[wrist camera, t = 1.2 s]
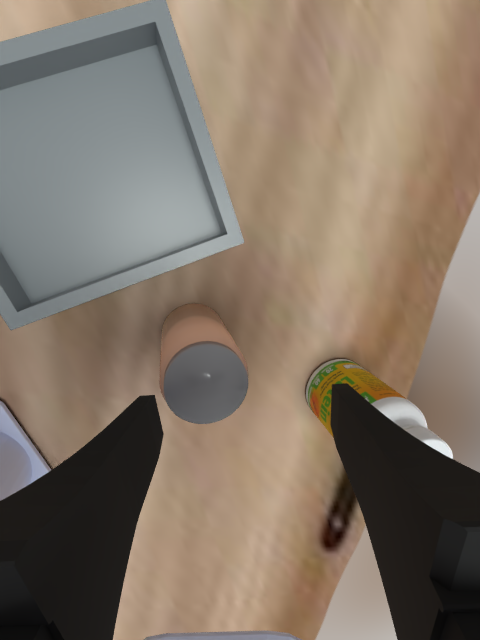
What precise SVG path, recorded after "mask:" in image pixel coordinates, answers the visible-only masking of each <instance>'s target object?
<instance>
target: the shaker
mask: <svg viewBox="0 0 480 640" xmlns="http://www.w3.org/2000/svg"><path fill="white" fill-rule="evenodd" d="M159 382H160V389H161V393H162V395H163V397H164V399H165V401H166V402H167V404H168V406H169V408H170V409H171V410H172V411H173V412H174V413H175V414H176V415H177V416H178V417H180V418H181V419H183V420H185V421H188V422H191V423H197V424H208V423H213V422H217V421H220V420H222V419H224V418H226V417H228V416H229V415H231V414H232V413H233V412H234V411H235V410H236V409H237V408H238V407H239V406H240V405H241V403H242V402H243V400H244V398H245V396H246V393H247V389H248V367H247V364H246V361H245V359H244V357H243V355H242V353H241V352H240V350H239V348H238V347H237V345H236V343H235V342H234V340H233V338H232V337H231V335H230V333H229V332H228V330H227V328H226V327H225V325H224V323H223V322H222V320H221V318H220V317H219V315H218V314H217V313H216V312H215V311H214V310H212V309H211V308H209V307H207V306H205V305H202V304H186V305H183V306H180V307H178V308H176V309H175V310H173V311H172V312H171V313H170V314H169V315H168V317H167V318H166V320H165V322H164V324H163V327H162V337H161V359H160V381H159Z"/></svg>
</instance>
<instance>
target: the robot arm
mask: <svg viewBox="0 0 480 640" xmlns="http://www.w3.org/2000/svg"><path fill="white" fill-rule="evenodd" d="M330 425H331V429H332V433H333V437H334V441H335V444H336V448H337V450H338V453H339V455H340V458H341V460H342V463H343V465H344V468H345V470H346V473H347V475H348V478H349V480H350V483H351V485H352V488H353V490H354V492H355V495H356V497H357V500H358V502H359V505H360V508H361V511H362V513H363V516H364V520H365V523H366V526H367V529H368V533H369V536H370V540H371V543H372V547H373V550H374V554H375V557H376V560H377V564H378V568H379V571H380V575H381V578H382V582H383V586H384V589H385V593H386V597H387V601H388V604H389V608H390V612H391V616H392V620H393V624H394V627H395V632H396V636H397V639H398V640H480V473H479V472H477V471H475V470H473V469H471V468H469V467H467V466H465V465H462V464H461V463H458V462H457V461H455V460H453V459H451V458H449V457H448V456H446V455H444V454H442V453H440V452H439V451H437V450H435V449H433V448H432V447H430V446H428V445H427V444H425V443H424V442H422V441H420V440H419V439H417V438H416V437H414V436H413V435H411V434H410V433H408V432H407V431H405V430H404V429H403V428H401V427H400V426H398V425H397V424H396V423H394V422H393V421H392V420H390V419H389V418H388V417H386V416H385V415H384V414H383V413H381V412H380V411H379V410H378V409H377V408H375V407H374V406H373V405H372V404H371V403H369V402H368V401H367V400H366V399H365V398H364V397H362V396H361V395H360V394H359V393H358V392H357V391H356V390H355V389H353V388H352V387H351V386H350V385H349V384H348V383H343V384H332V394H331V420H330ZM162 439H163V430H162V425H161V421H160V416H159V412H158V408H157V403H156V399H155V395H147V396H139V397H138V398H137V399H136V400H135V401H134V402H133V403H132V404H131V405H130V406H129V407H127V408H126V409H125V410H124V411H123V412H122V413H121V414H120V415H119V416H118V417H117V418H116V419H115V420H114V421H113V422H111V423H110V424H109V425H108V426H107V427H106V428H105V429H104V430H103V431H102V432H100V433H99V434H98V435H97V436H96V437H94V438H93V439H92V440H91V441H90V442H89V443H87V444H86V445H85V446H84V447H83V448H81V449H80V450H79V451H78V452H76V453H75V454H74V455H72V456H71V457H70V458H68V459H67V460H65V461H64V462H63V463H61V464H60V465H58V466H57V467H56V468H54V469H53V470H51V469H50V467H49V466H48V465H47V463H46V462H45V460H44V459H43V458H42V456H41V455H40V453H39V452H38V451H37V449H36V448H35V446H34V445H33V443H32V442H31V441H30V439H29V438H28V436H27V435H26V434H25V432H24V431H23V429H22V428H21V427H20V425H19V424H18V422H17V421H16V420H15V418H14V417H13V415H12V414H11V413H10V411H9V410H8V408H7V407H6V406H5V404H4V403H3V402H2V401H0V640H113V635H114V629H115V623H116V618H117V613H118V608H119V602H120V597H121V592H122V587H123V582H124V578H125V573H126V568H127V564H128V559H129V555H130V550H131V546H132V542H133V538H134V533H135V529H136V525H137V522H138V518H139V515H140V512H141V509H142V506H143V503H144V500H145V497H146V494H147V491H148V488H149V485H150V482H151V479H152V477H153V474H154V471H155V468H156V465H157V462H158V458H159V454H160V450H161V445H162ZM144 640H301V639H299V638H297V637H295V636H293V635H291V634H289V633H283V632H275V631H236V632H201V633H166V634H161V635H155V636H150V637H146V638H145V639H144Z"/></svg>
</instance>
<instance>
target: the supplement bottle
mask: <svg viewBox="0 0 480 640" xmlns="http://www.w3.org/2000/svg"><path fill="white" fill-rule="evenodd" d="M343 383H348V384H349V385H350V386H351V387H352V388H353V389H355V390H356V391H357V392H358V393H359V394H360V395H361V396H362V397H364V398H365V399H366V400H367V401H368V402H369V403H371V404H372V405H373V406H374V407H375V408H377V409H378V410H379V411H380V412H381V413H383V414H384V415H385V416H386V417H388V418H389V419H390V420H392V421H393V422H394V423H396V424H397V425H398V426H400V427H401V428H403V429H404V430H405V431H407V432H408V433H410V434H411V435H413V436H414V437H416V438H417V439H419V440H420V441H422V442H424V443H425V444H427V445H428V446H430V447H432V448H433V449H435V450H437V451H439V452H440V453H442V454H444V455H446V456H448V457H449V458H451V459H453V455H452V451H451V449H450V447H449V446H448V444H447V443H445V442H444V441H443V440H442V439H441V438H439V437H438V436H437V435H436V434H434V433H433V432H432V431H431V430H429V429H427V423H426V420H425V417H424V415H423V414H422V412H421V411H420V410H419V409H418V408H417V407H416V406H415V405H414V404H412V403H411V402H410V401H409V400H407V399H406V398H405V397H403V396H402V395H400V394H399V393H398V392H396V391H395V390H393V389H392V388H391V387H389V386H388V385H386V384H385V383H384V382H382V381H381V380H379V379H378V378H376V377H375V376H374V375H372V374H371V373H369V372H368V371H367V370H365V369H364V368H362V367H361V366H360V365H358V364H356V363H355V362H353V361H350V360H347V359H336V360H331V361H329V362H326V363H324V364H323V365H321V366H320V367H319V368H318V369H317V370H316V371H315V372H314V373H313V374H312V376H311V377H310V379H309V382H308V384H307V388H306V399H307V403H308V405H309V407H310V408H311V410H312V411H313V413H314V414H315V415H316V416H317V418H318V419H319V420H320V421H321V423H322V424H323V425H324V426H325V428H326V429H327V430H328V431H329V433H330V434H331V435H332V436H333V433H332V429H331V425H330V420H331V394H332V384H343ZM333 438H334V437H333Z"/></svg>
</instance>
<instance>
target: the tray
mask: <svg viewBox="0 0 480 640" xmlns="http://www.w3.org/2000/svg"><path fill="white" fill-rule="evenodd" d="M242 243H244V240H243V237H242V234H241V230H240V227H239V224H238V221H237V218H236V215H235V212H234V209H233V206H232V203H231V200H230V197H229V194H228V190H227V187H226V184H225V181H224V178H223V175H222V172H221V169H220V166H219V163H218V160H217V157H216V154H215V150H214V147H213V144H212V141H211V138H210V135H209V132H208V129H207V126H206V123H205V120H204V117H203V114H202V110H201V107H200V104H199V101H198V98H197V95H196V92H195V89H194V86H193V83H192V80H191V77H190V74H189V70H188V67H187V64H186V61H185V58H184V55H183V52H182V49H181V46H180V43H179V40H178V37H177V34H176V30H175V27H174V24H173V21H172V18H171V15H170V12H169V9H168V6H167V3H166V0H151V1H147V2H143V3H140V4H136V5H132V6H129V7H125V8H122V9H118V10H114V11H111V12H107V13H103V14H100V15H96V16H93V17H89V18H85V19H82V20H78V21H74V22H71V23H67V24H64V25H60V26H56V27H53V28H49V29H45V30H42V31H38V32H35V33H31V34H27V35H24V36H20V37H16V38H13V39H9V40H6V41H2V42H0V314H1V316H2V318H3V319H4V321H5V322H6V324H7V325H8V327H9V328H10V330H13V329H16V328H19V327H21V326H24V325H27V324H29V323H32V322H35V321H37V320H40V319H43V318H45V317H48V316H51V315H53V314H56V313H59V312H61V311H64V310H66V309H69V308H72V307H74V306H77V305H80V304H82V303H85V302H88V301H90V300H93V299H96V298H98V297H101V296H104V295H106V294H109V293H112V292H114V291H117V290H120V289H122V288H125V287H128V286H130V285H133V284H136V283H138V282H141V281H144V280H146V279H149V278H152V277H154V276H157V275H160V274H162V273H165V272H168V271H170V270H173V269H176V268H178V267H181V266H184V265H186V264H189V263H192V262H194V261H197V260H200V259H202V258H205V257H208V256H210V255H213V254H216V253H218V252H221V251H224V250H226V249H229V248H232V247H234V246H237V245H239V244H242Z"/></svg>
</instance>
